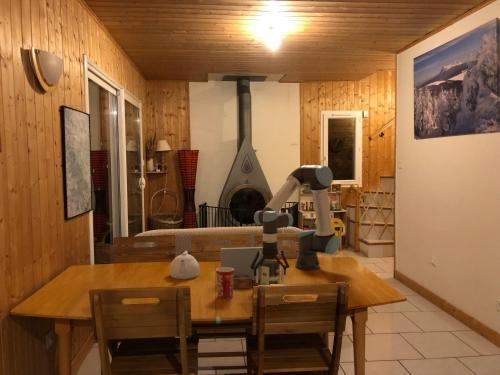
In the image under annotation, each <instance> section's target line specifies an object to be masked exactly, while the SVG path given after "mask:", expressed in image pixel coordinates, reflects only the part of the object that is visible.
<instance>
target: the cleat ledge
mask: <svg viewBox="0 0 500 375" xmlns="http://www.w3.org/2000/svg"><path fill="white" fill-rule="evenodd" d="M252 282H253V280H252V278H249V276H248V275H234V276H233V289H248V288H249V289H250V288H253V287H252V286H253V283H252Z"/></svg>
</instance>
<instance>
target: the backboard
mask: <svg viewBox="0 0 500 375" xmlns="http://www.w3.org/2000/svg"><path fill="white" fill-rule="evenodd" d="M257 250H259V251H262V250H263V246H255V247H248V246H247V247H226V248H225V247H221V248H220V268H222V267H229V268H233V269H234V275H248V276H249V278H252V281H256V276H254V269H251V268H250V266H251V264H252V262H253V260H254V258H255V256H256V252H257ZM262 256H263V254H262V253H261V255H259V258H258V260H257V262H256V264H257V263H258V262H259V260H260V259H261V258H262ZM266 260H268V259H265V260H264V261H266ZM256 264H255V265H256ZM257 269H258V281H260V266H259V267H258V268H257Z"/></svg>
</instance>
